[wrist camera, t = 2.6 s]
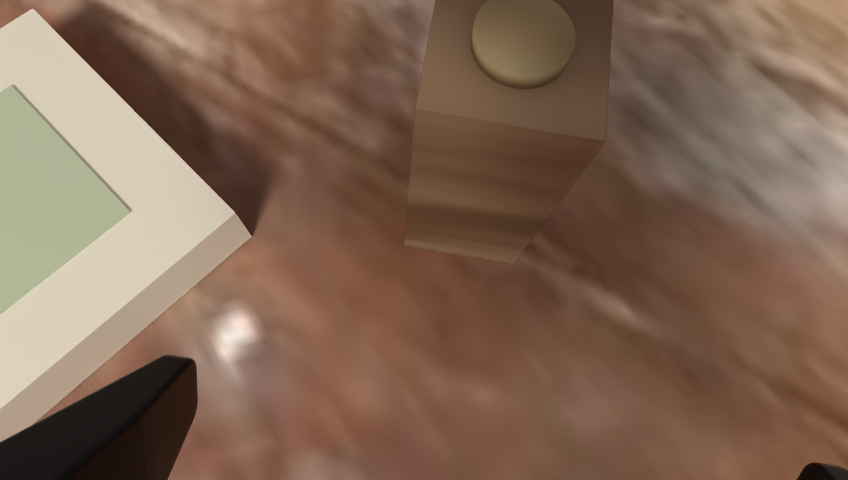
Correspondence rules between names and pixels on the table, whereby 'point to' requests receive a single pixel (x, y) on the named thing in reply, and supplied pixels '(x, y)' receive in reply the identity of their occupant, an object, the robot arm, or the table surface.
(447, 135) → the walnut pillar
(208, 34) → the table surface
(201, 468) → the table surface
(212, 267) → the baseplate
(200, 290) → the table surface
